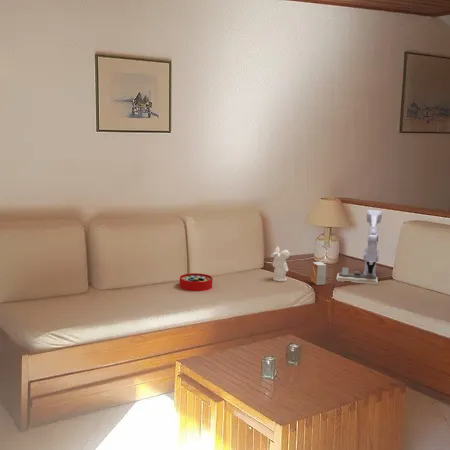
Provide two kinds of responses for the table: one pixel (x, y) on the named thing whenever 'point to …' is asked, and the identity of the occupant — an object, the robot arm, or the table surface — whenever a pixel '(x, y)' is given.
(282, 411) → the table surface
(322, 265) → the small box
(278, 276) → the cherub figurine
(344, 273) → the switch
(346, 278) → the switch panel
